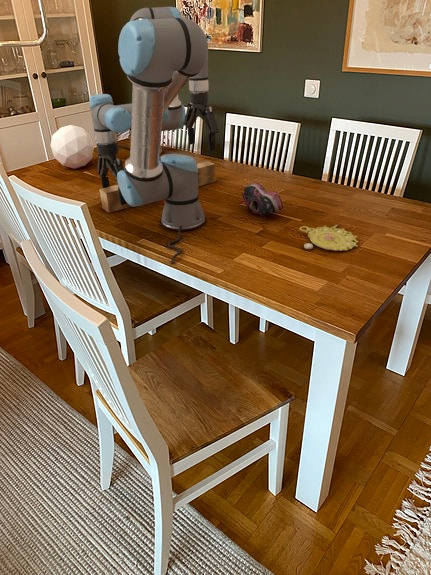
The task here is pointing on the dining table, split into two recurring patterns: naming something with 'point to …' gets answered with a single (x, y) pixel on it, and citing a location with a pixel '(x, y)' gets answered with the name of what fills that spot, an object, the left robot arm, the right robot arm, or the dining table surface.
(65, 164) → the sphere
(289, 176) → the dining table surface
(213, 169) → the bar
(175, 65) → the right robot arm
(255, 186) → the athletic shoe
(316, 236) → the decorative object
